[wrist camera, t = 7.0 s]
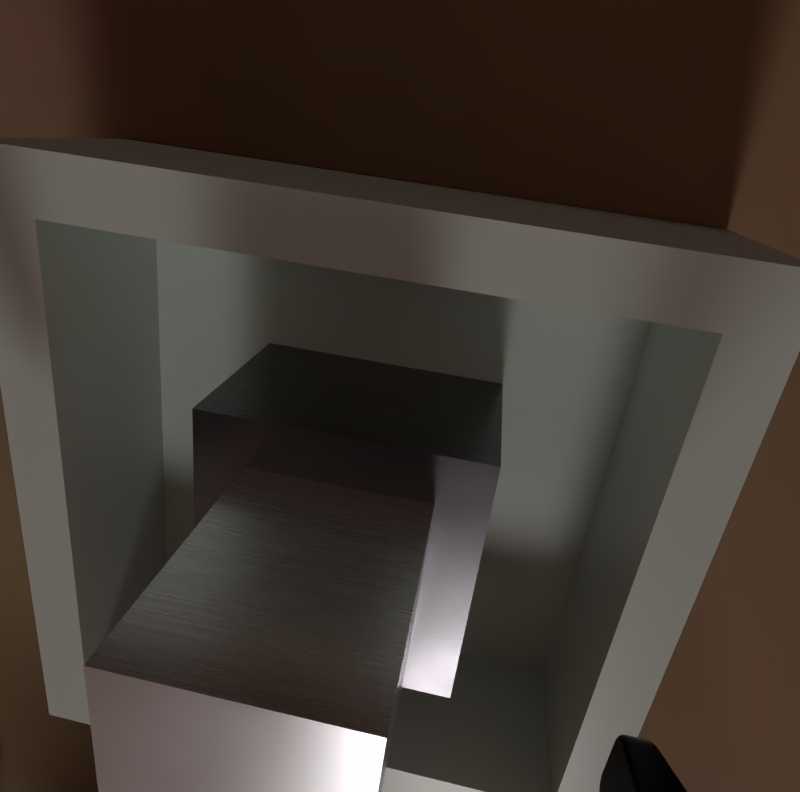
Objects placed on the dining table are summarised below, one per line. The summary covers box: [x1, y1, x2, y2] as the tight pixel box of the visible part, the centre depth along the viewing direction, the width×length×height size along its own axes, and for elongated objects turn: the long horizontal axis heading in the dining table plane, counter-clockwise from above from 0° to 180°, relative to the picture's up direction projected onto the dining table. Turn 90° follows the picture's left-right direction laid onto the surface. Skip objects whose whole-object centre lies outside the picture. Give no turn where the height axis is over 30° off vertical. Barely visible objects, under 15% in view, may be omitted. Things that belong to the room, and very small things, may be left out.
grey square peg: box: [83, 343, 503, 792], centre depth 10 cm, size 5×5×8 cm
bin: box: [0, 138, 800, 792], centre depth 12 cm, size 12×12×4 cm
